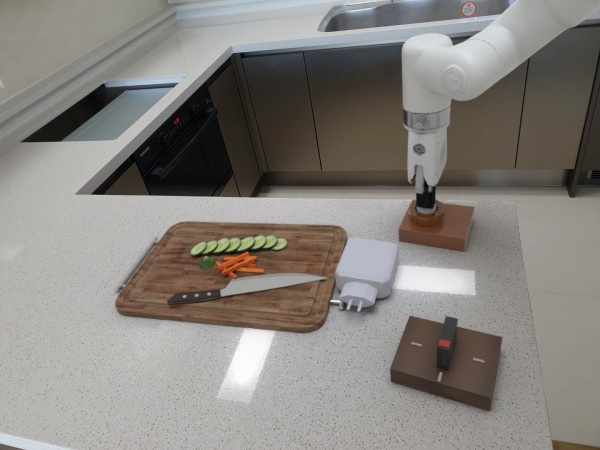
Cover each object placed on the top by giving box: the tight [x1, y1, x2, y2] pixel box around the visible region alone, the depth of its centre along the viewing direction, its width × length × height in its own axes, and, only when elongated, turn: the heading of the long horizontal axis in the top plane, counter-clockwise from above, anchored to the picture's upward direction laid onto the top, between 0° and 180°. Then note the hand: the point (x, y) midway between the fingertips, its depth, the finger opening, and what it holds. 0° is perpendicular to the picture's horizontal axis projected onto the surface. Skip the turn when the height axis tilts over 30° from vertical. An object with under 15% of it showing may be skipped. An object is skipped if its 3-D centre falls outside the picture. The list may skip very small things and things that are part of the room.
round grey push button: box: [417, 204, 436, 215], centre depth 87 cm, size 4×4×2 cm
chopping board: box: [114, 220, 348, 334], centre depth 88 cm, size 45×27×3 cm, turn 75°
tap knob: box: [436, 315, 459, 370], centre depth 62 cm, size 6×2×4 cm, turn 154°
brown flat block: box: [389, 315, 503, 412], centre depth 64 cm, size 13×10×3 cm
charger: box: [335, 237, 400, 313], centre depth 78 cm, size 5×9×15 cm
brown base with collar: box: [398, 198, 476, 252], centre depth 87 cm, size 12×10×5 cm
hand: (425, 205), depth 87 cm, fingers closed
